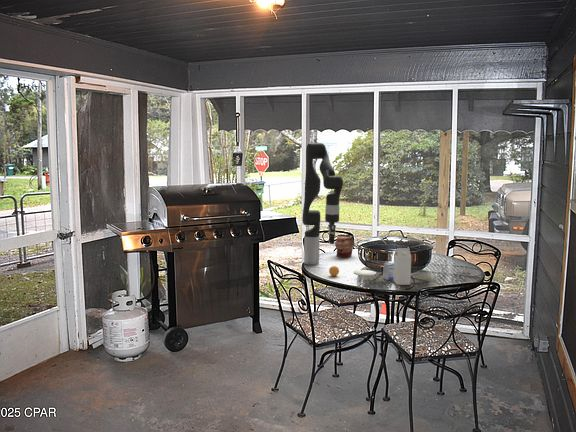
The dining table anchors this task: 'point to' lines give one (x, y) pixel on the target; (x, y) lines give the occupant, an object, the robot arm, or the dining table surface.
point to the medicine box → (388, 271)
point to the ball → (334, 271)
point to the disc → (364, 272)
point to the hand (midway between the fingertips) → (331, 242)
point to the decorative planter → (344, 245)
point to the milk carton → (402, 266)
